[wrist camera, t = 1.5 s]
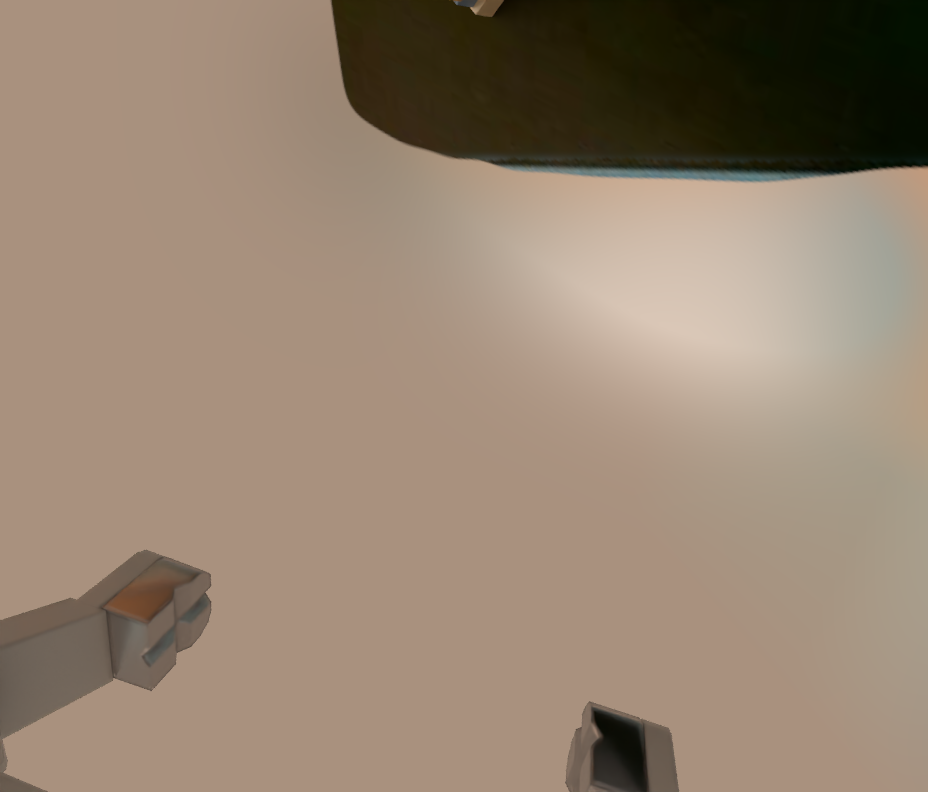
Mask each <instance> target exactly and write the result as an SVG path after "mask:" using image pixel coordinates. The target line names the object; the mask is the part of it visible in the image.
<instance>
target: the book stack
mask: <svg viewBox="0 0 928 792" xmlns="http://www.w3.org/2000/svg"><path fill="white" fill-rule="evenodd" d="M453 1H454V2H455V3H456V5H461V6H467V7H470V8H471V9H472V11H473V12H474V13H475V14H476V15H482V16H489V17H492V16H493V15H494V13H495V12H496V11H497V9H498V8H499V6H500V5H501V4H502V2H503V1H504V0H453Z"/></svg>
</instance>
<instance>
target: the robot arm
mask: <svg viewBox="0 0 928 792" xmlns="http://www.w3.org/2000/svg"><path fill="white" fill-rule="evenodd" d="M210 587H211V575H210V574H209V573H207V572H205V571H203V570H200V569H197V568H194V567H192V566H189V565H186V564H184V563H181V562H179V561H176V560H173V559H171V558H167V557H165V556H162V555H159V554H156V553H154V552H151V551H148V550H144V551H141V552H138V553H136V554H135V555H133V556H132V557H131V558H130V559H128V560H127V561H126V562H125V563H123V564H122V565H121V566H120V567H118V568H117V569H116V570H114V571H113V572H112V573H111V574H109V575H108V576H107V577H106V578H104V579H103V580H102V581H100V582H99V583H98V584H97V585H95V586H94V587H93V588H92V589H90V590H89V591H88V592H86V593H85V594H84V595H83V596H81V597H80V598H79V599H78V600H76V599H72V598H69V599H66V600H63V601H60V602H56V603H53V604H50V605H47V606H44V607H41V608H38V609H35V610H32V611H28V612H25V613H22V614H19V615H16V616H13V617H10V618H6V619H4V620H0V792H47V791H45V790H42V789H40V788H38V787H35V786H33V785H31V784H28V783H26V782H23V781H21V780H19V779H16V778H14V777H12V776H9V775H7V774H5V773H3V772H4V771H5V770H6V767H7V757H6V753H5V748H4V744H3V741H2V739H3V738H5V737H7V736H9V735H11V734H13V733H15V732H16V731H19V730H20V729H22V728H24V727H26V726H28V725H30V724H32V723H33V722H36V721H37V720H39V719H41V718H43V717H45V716H47V715H49V714H51V713H52V712H54V711H56V710H58V709H60V708H62V707H64V706H66V705H68V704H70V703H71V702H73V701H75V700H77V699H79V698H81V697H83V696H85V695H87V694H88V693H90V692H92V691H94V690H96V689H98V688H100V687H102V686H104V685H105V684H107V683H109V682H111V681H113V678H115V679H118V680H121V681H124V682H127V683H130V684H133V685H136V686H139V687H142V688H144V689H147V690H150V691H152V690H153V689H154V688H155V686H157V684H158V683H159V682H160V681H161V680H162V679H163V678H164V677H165V675H166V674H167V673H168V672H169V671H170V670H171V669H172V668H173V666H174V665H175V664H176V655H177V653H178V652H180V651H182V650H184V649H187V648H189V647H191V646H192V645H193V644H194V643H195V642H196V640H197V639H198V638H199V637H200V636H201V634H202V632H203V630H204V628H205V627H206V625H207V623H208V621H209V616H210V613H211V601H210V599H209V598H208V596H207V595H206V593H205V592H206V591H207V590H208V589H209V588H210ZM566 785H567V787H568V789H569V791H570V792H679V789H678V781H677V773H676V766H675V758H674V750H673V742H672V735H671V733H670V730H669V728H667V727H664V726H661V725H658V724H655V723H652V722H649V721H646V720H643V719H640V718H638V717H635V716H632V715H629V714H626V713H623V712H620V711H617V710H614V709H611V708H608V707H605V706H602V705H599V704H596V703H592V702H588V703H587V705H586V706H585V709H584V711H583V714H582V727H581V728H578V729H576V731H575V734H574V737H573V739H572V742H571V747H570V751H569V755H568V762H567V770H566Z"/></svg>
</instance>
